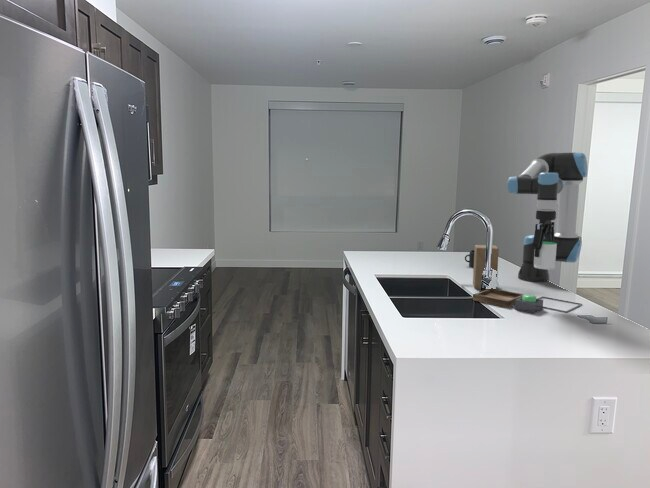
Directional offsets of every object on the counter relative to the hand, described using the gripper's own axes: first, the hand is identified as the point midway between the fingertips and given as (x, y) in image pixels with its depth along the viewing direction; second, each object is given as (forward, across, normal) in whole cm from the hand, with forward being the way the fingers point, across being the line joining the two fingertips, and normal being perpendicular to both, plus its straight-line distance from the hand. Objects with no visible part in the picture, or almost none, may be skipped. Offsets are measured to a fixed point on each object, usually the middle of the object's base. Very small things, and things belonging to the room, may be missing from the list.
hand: (542, 262), depth 207 cm
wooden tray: (+18, +8, -14) cm, 24 cm away
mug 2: (+2, -1, 0) cm, 2 cm away
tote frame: (+18, -3, +5) cm, 19 cm away
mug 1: (+18, -54, -60) cm, 83 cm away
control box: (+18, +12, 0) cm, 21 cm away
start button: (+17, +12, 0) cm, 21 cm away
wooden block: (+18, -10, -31) cm, 37 cm away
